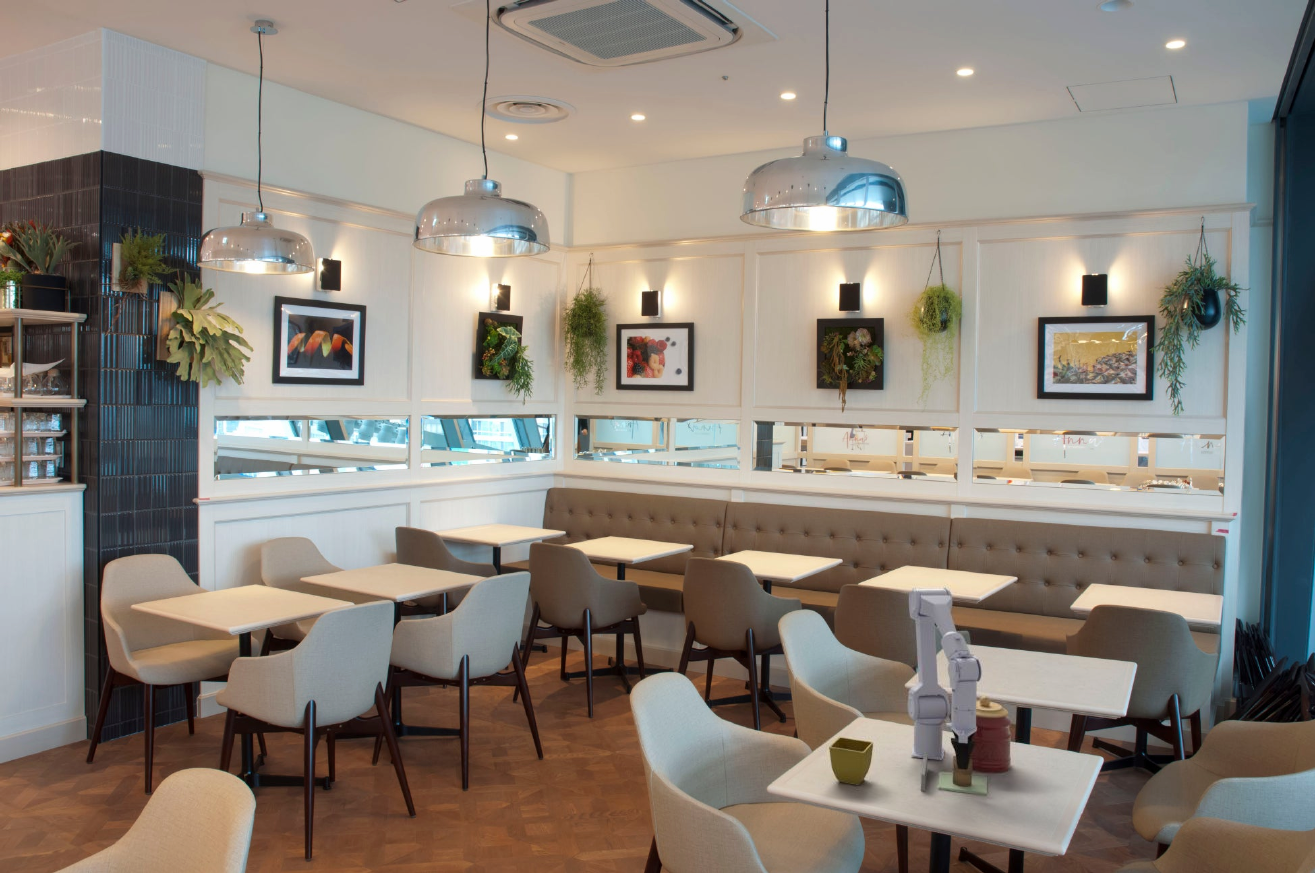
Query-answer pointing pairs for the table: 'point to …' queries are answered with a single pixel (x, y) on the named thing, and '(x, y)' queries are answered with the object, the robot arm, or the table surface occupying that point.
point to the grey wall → (924, 771)
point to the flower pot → (850, 759)
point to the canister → (991, 738)
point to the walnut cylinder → (962, 774)
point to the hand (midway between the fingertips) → (962, 763)
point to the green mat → (947, 784)
